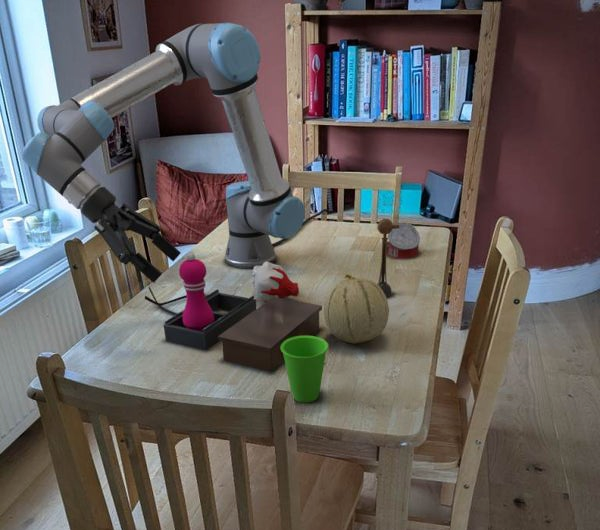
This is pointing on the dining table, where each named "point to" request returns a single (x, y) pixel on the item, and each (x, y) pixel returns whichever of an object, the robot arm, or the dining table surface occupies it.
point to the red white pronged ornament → (272, 282)
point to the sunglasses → (164, 302)
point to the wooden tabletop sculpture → (385, 228)
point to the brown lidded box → (268, 332)
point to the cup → (304, 365)
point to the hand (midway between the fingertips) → (168, 267)
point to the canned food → (403, 242)
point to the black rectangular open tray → (222, 322)
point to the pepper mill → (195, 294)
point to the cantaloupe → (356, 310)
